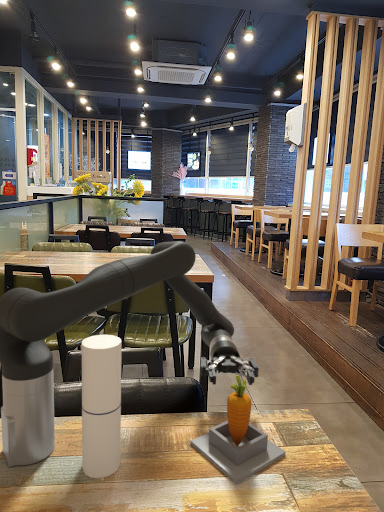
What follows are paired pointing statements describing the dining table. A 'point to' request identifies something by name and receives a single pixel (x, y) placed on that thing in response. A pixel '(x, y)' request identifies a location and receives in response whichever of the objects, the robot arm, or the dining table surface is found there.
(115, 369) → the cylindrical container
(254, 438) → the sleeve stand
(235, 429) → the carrot
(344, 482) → the dining table surface
